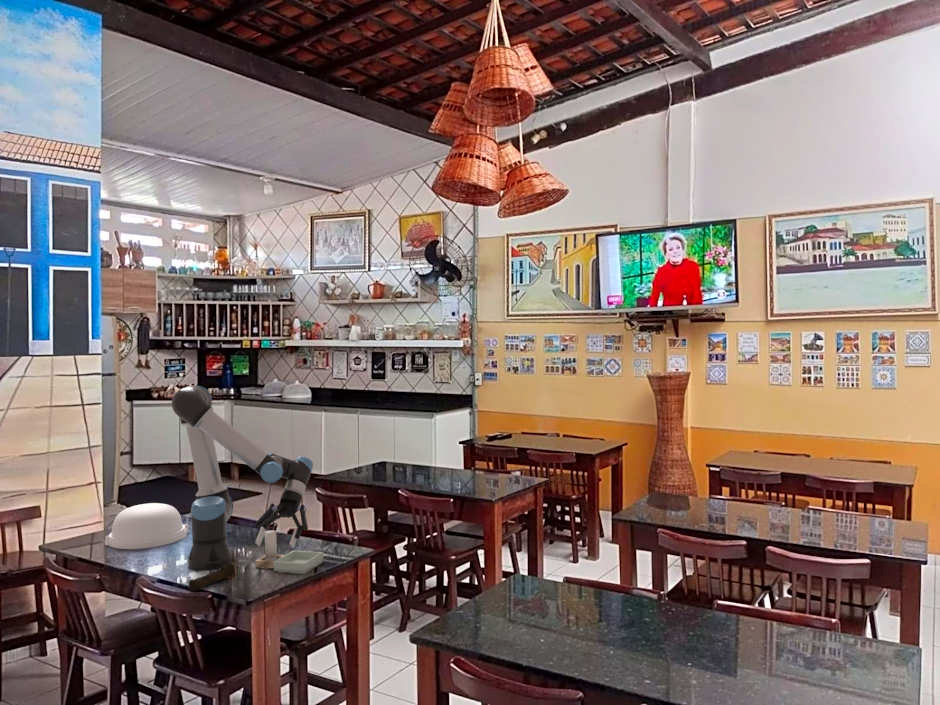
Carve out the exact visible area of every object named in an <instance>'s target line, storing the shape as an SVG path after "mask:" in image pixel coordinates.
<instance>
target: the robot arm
mask: <svg viewBox="0 0 940 705" xmlns="http://www.w3.org/2000/svg"><path fill="white" fill-rule="evenodd" d="M212 399H213V398H212V395H211V393H210V392H209V390H208V389H207V388H205V387H203V386H201V385H198V384H197V385H196V384H194V385H188V386H186V387H182V388H181V389H178V390H177V391H176V392H175V393H174V395H173V396H172V400H171V408H172V410H173V412H174V414H175V415H176V416H177V417H178V418H179V420H180V424H181V426H183V427H184V428H186V432H187V437H188V442H189V447H190V452H191V453H190V454H191V457H192V462H193V467H194V471H195V477H196V482H197V487H198V491H197V492H196V493H195V497H196V500H194V501H193V502H192V503H191V509H190V514H191V534H192V538H191V539H192V546H191V549H190V553H189V556H188V559H187V568H189V569H191V570H195V571H196V570H197V571H207V570H214V569H215V570H216V569H220V567H221V566H223V565H226V564H229V563H231V562H232V563H233V554H232V552H231V549H230V546H229V543H228V541H227V522H228V521H229V519H230V518H231V516H232V514H233V511H234V502H233V500H232V497H231V496H230V494H229V490H228V486H226V485H225V484H223V481H222V477H221V472H220V471H221V470H220V466H219V461H218V456H217V451H216V446H215V442H217V443H218V444H220V445H221V446H223V448H225V449H226V450H228V451H229V452H230V453H231V454H233V455H234V456H235V457H236V458H238V459H239V460H241V461H242V462H243V463H244V464H246V465H247V466H248V467H250V468H251V469H252V470H254V471H255V472H256V473H257V474H259V475H260V478H262V480H263V481H265V483H268V484H273V483H277V481H279V480H280V479H281V478H282V479H284V480H285V479H286V480H287V481H286V483H285V486H284V488H283V492H282V493H281V496H280V500H279V503H278V504H277V505H276V504H275V503H271V504H270V505H269V508H268V509H267V510H266V511H265V512H264V513H263V514H261V517H260V518H258V520H257V521H255V523H254V525H255V526H256V528H257V529H258V530H257V531H256V539H255V542H254V544H255V545H257V546H256V547H261V544H262V542H263V538H265V532H266V531H267V530H266V528H268V527H269V526H271V525H272V524H273V523H274V522H276V521H277V520H279V519H281V518H288V519H289V518H292V520H293V521H294V524H295V525H296V527H294V530H293V533H292V536H291V538H290V541H289V546H290V547H291V549H294V548H295V546H296V544H297V540H299V539H300V537H301V535H302V532H303V531H308V529H309V527H308V520H307V516H306V513H307V508H306V506H305V505H304V504H301V503H302V500H303V497H304V494H305V491H306V489H307V485H308V482H309V480H310V477H311V474H312V472H313V467H314V463H313V461H312V460H311V459H310V458H308V457H306V456H298V457H296V458H295V459H290V458H287V457H283V456H281V455H278V454H275V453H271V452H268V451H265V450H263V449H262V448H261V447H260V446H259V445H257V444H256V443H255V442H254V441H252V440H251V439H249V438H248V437H247V436H245V435H244V434H243V433H241V432H240V431H239V430H238V429H236V428H235V427H234V426H233V425H232V424H230V423H229V422H228V421H226V420H225V419H223V417H221V416H220V415H218V414H217V413H216V412H215V411H214V408H213V405H212V403H213V400H212ZM298 511H299V514H300V518H301V519H300V520H301V523H300V521H299V519H298V517H297V514H296V513H297V512H298Z"/></svg>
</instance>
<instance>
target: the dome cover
mask: <svg viewBox="0 0 940 705" xmlns="http://www.w3.org/2000/svg"><path fill="white" fill-rule="evenodd" d="M188 533H189V524H188V523H185V524H183V521H182V517H181V515H180V512H179V511H178V510H177V508H176V507H174V506H173V505H170V504H167V503H159V502H149V503H142V504H137V505H136V504H135V505H132V506H130V507H127V508H125V509H123V510H122V511H120V512H119V513H118V514H117V515H116V517H115V518H114V520H113V523H112V527H111V532H110V533H109V534H108V535H105V539H104V541H105V542H104V543H105V544H104V545H105V546H108V547H110V548H113V549H119V550H120V549H121V550H140V549H148V548H149V549H150V548H155V547H161V546H165V545H169V544H173V543H177V542H179V541H181V540H183V539H185V538H186V537H187V534H188Z"/></svg>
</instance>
